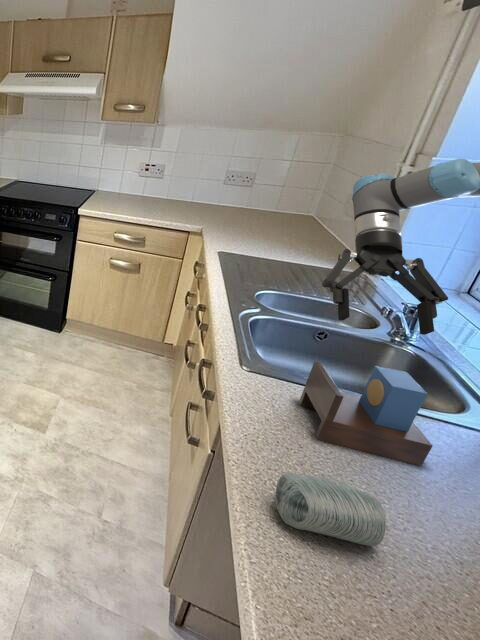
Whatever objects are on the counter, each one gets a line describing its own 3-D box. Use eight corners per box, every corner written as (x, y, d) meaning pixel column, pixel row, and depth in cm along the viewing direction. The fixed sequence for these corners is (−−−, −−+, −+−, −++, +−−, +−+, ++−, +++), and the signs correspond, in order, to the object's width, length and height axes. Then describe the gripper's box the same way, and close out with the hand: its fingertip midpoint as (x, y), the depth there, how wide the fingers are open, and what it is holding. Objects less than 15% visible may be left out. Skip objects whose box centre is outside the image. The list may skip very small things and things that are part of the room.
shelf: (389, 423, 87) (410, 380, 83) (421, 466, 77) (447, 419, 73) (298, 402, 93) (314, 361, 89) (317, 439, 83) (335, 395, 79)
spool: (282, 529, 61) (308, 467, 62) (255, 500, 71) (278, 446, 71) (389, 584, 58) (416, 518, 58) (345, 546, 67) (369, 489, 67)
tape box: (390, 408, 84) (408, 372, 81) (408, 432, 78) (428, 393, 75) (357, 401, 86) (373, 365, 83) (373, 424, 80) (391, 386, 77)
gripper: (318, 221, 95) (320, 307, 87) (464, 237, 86) (480, 334, 78) (303, 236, 101) (304, 318, 94) (438, 252, 92) (450, 343, 85)
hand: (384, 325), depth 86 cm, fingers open, 13 cm apart
